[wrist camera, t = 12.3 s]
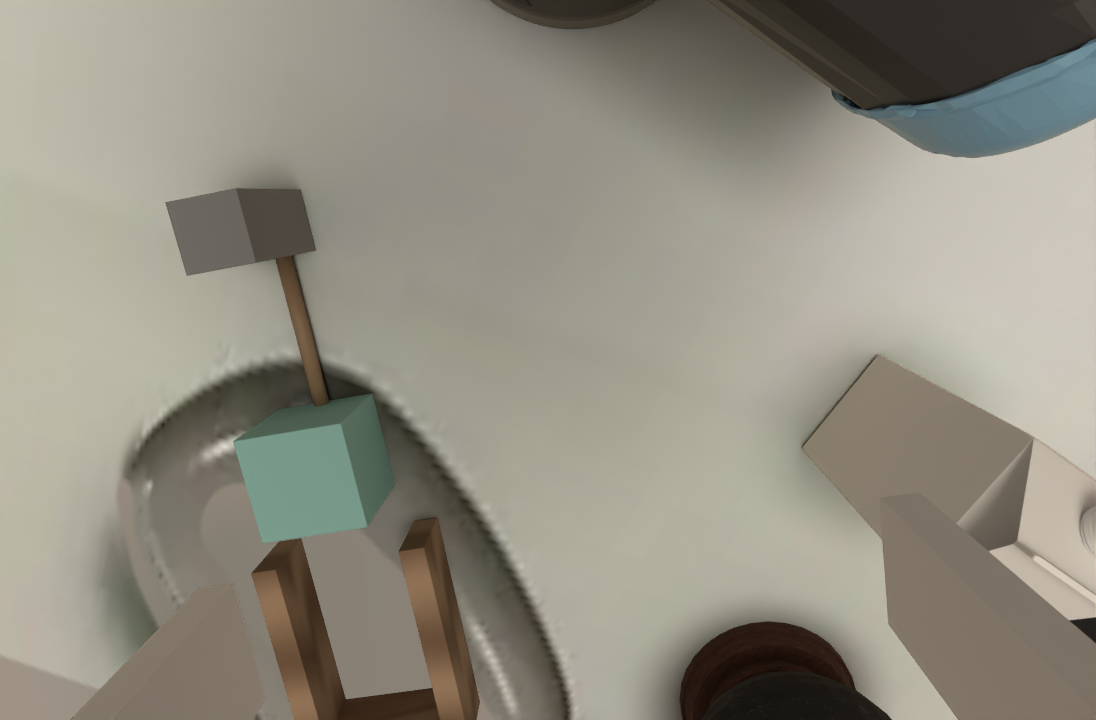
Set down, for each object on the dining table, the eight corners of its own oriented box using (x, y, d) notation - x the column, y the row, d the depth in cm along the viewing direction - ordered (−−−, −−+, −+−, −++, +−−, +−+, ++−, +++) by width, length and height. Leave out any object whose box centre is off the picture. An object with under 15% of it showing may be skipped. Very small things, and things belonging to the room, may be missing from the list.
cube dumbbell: (222, 205, 42) (140, 207, 34) (321, 185, 41) (261, 183, 33) (303, 498, 46) (246, 561, 38) (394, 484, 45) (356, 544, 37)
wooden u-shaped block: (279, 541, 46) (243, 582, 41) (437, 517, 45) (420, 556, 41) (329, 721, 49) (302, 779, 44) (479, 701, 48) (468, 758, 43)
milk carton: (891, 510, 44) (1117, 738, 26) (799, 447, 43) (962, 633, 25) (971, 419, 43) (1271, 591, 24) (876, 352, 42) (1111, 475, 23)
